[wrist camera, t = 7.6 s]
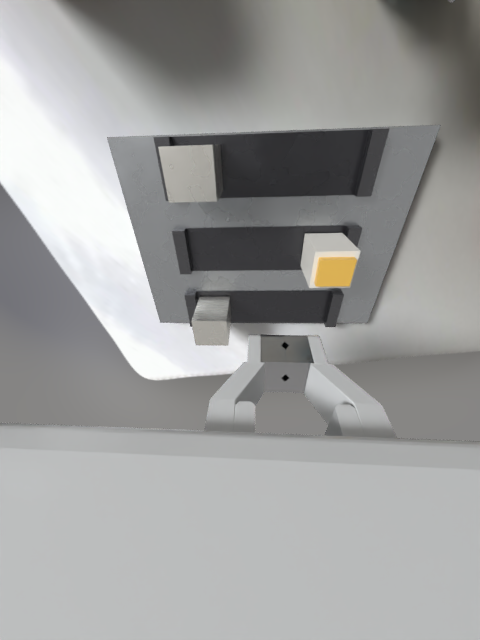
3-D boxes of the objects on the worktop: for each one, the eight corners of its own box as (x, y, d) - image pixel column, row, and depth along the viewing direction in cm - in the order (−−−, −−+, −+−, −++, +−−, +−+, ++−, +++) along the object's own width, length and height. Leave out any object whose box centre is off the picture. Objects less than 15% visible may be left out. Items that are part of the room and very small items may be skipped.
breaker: (342, 232, 19) (363, 253, 15) (335, 265, 21) (352, 291, 17) (304, 233, 19) (316, 254, 16) (300, 265, 21) (310, 291, 17)
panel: (426, 126, 16) (494, 119, 12) (361, 314, 26) (385, 351, 21) (116, 137, 17) (69, 136, 13) (164, 314, 27) (146, 349, 22)
